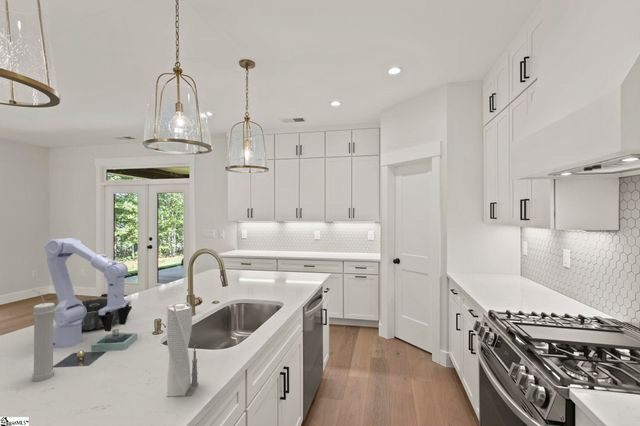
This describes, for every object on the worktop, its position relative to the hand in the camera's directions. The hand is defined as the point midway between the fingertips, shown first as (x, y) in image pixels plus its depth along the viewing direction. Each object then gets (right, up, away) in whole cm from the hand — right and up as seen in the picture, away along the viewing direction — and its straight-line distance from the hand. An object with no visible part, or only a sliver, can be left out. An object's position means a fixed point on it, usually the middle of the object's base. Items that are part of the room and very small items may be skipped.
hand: (115, 327), depth 128 cm
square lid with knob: (-4, -8, -13) cm, 16 cm away
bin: (0, -8, 0) cm, 8 cm away
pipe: (-7, -8, -26) cm, 28 cm away
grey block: (0, -7, 0) cm, 7 cm away
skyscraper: (+41, -8, -32) cm, 52 cm away
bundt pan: (-28, -9, +27) cm, 39 cm away
